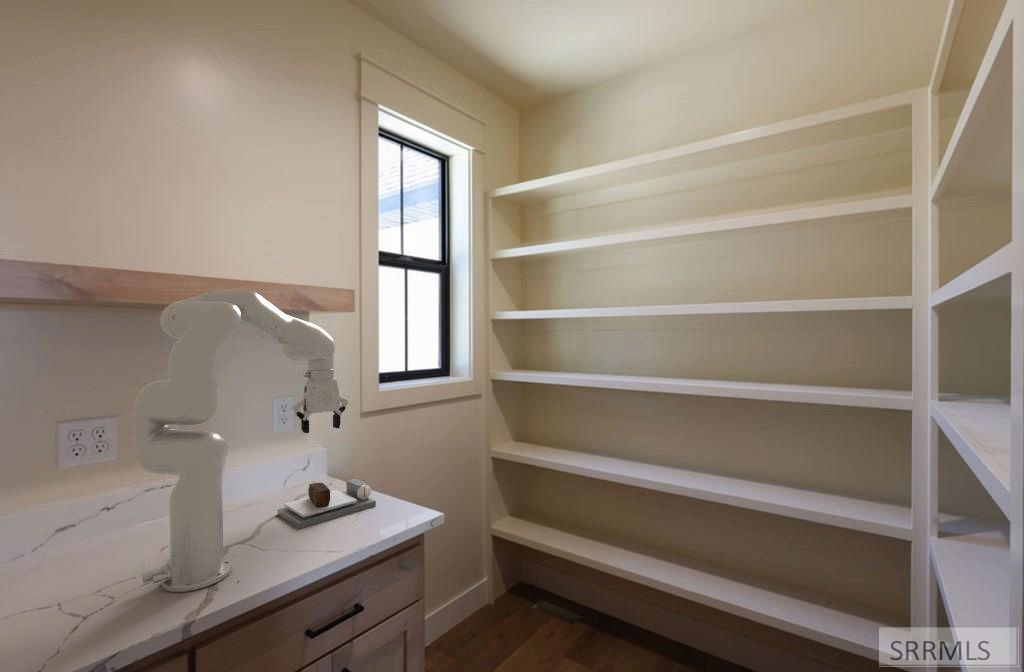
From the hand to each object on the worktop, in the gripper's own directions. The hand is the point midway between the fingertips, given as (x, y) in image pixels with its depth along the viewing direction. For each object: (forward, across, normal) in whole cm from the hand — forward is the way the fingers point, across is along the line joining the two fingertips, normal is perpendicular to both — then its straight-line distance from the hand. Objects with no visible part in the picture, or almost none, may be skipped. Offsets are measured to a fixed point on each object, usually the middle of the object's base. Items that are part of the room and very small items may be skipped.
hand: (321, 430), depth 148 cm
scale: (+22, -2, -8) cm, 24 cm away
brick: (+20, -4, -8) cm, 21 cm away
